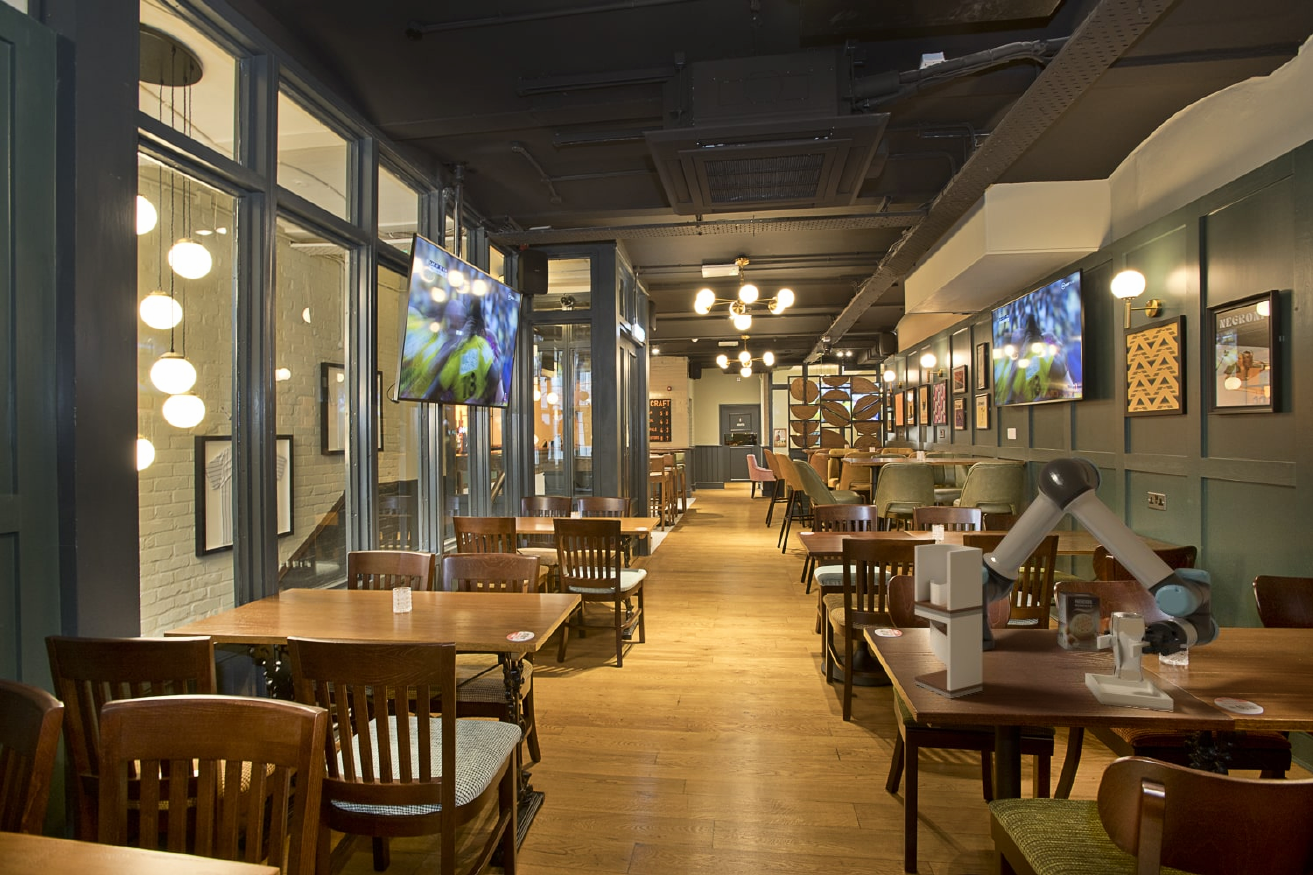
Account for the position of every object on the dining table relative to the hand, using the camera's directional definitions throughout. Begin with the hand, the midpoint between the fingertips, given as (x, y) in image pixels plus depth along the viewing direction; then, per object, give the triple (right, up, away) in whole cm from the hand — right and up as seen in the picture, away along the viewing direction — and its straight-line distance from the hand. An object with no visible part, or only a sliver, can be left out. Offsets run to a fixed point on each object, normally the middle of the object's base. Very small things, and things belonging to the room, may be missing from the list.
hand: (1114, 647), depth 159 cm
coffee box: (+17, -13, +41) cm, 47 cm away
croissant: (+38, -14, +52) cm, 65 cm away
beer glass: (+5, -8, +2) cm, 10 cm away
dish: (+4, -13, +2) cm, 14 cm away
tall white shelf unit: (-36, -13, +8) cm, 39 cm away
